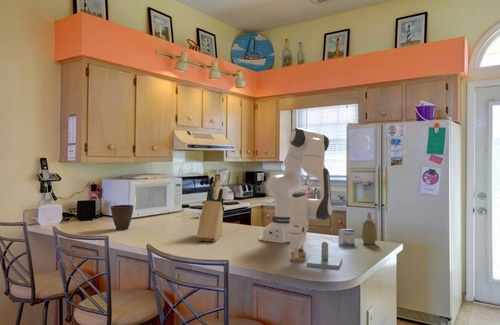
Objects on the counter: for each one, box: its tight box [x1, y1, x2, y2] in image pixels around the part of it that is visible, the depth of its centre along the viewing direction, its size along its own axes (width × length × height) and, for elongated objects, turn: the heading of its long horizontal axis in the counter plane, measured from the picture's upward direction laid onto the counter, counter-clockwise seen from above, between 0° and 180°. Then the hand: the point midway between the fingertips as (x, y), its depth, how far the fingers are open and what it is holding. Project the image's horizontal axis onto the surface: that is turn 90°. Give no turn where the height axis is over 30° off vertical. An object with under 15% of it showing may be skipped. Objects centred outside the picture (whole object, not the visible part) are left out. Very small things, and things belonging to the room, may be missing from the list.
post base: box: [306, 241, 343, 270], centre depth 171 cm, size 14×14×10 cm
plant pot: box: [110, 204, 135, 231], centre depth 255 cm, size 15×15×16 cm
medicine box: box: [338, 228, 356, 246], centre depth 210 cm, size 8×4×9 cm, turn 105°
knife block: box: [195, 185, 225, 243], centre depth 231 cm, size 11×35×31 cm, turn 174°
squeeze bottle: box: [361, 211, 377, 246], centre depth 212 cm, size 8×8×18 cm
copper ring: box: [290, 248, 307, 262], centre depth 179 cm, size 7×7×4 cm
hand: (298, 255), depth 179 cm, fingers closed on copper ring, 7 cm apart
